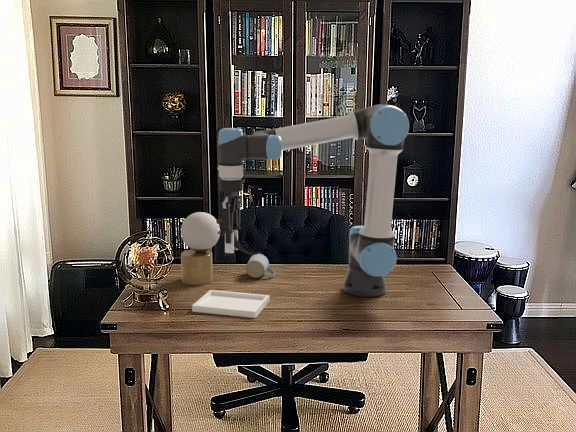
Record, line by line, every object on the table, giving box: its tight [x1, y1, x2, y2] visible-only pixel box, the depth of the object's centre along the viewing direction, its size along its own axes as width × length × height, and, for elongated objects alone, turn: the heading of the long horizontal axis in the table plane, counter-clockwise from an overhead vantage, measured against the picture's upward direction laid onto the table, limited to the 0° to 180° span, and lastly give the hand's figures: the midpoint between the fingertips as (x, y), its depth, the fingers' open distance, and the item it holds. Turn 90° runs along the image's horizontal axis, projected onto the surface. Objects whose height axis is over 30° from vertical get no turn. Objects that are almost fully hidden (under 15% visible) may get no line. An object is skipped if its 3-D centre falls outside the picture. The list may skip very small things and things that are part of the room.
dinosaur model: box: [216, 217, 262, 257], centre depth 202 cm, size 4×12×15 cm
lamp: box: [180, 211, 221, 286], centre depth 232 cm, size 15×14×25 cm
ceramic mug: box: [245, 253, 276, 279], centre depth 239 cm, size 11×8×8 cm
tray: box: [191, 289, 271, 319], centre depth 207 cm, size 21×16×2 cm
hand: (231, 250), depth 203 cm, fingers closed on dinosaur model, 3 cm apart
